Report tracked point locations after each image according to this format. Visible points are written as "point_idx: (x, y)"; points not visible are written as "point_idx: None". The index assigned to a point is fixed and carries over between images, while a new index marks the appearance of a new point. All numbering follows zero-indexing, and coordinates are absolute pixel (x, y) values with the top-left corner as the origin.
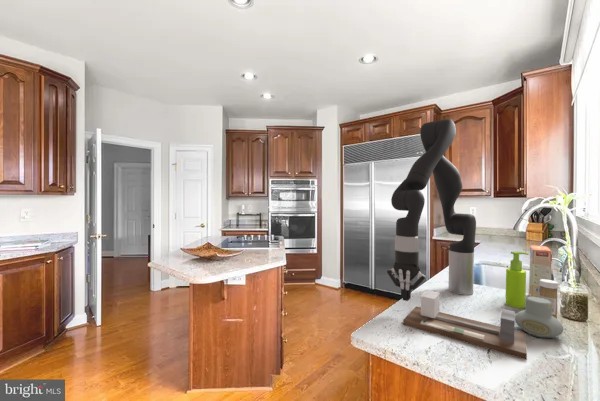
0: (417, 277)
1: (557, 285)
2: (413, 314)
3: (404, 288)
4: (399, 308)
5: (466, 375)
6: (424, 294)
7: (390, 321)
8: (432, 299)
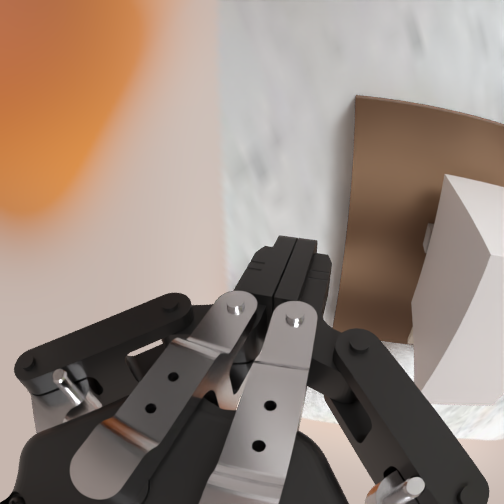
0: (368, 499)
1: None
2: (369, 255)
3: (262, 344)
4: (252, 123)
5: (469, 434)
6: (446, 369)
7: None
8: (481, 399)
